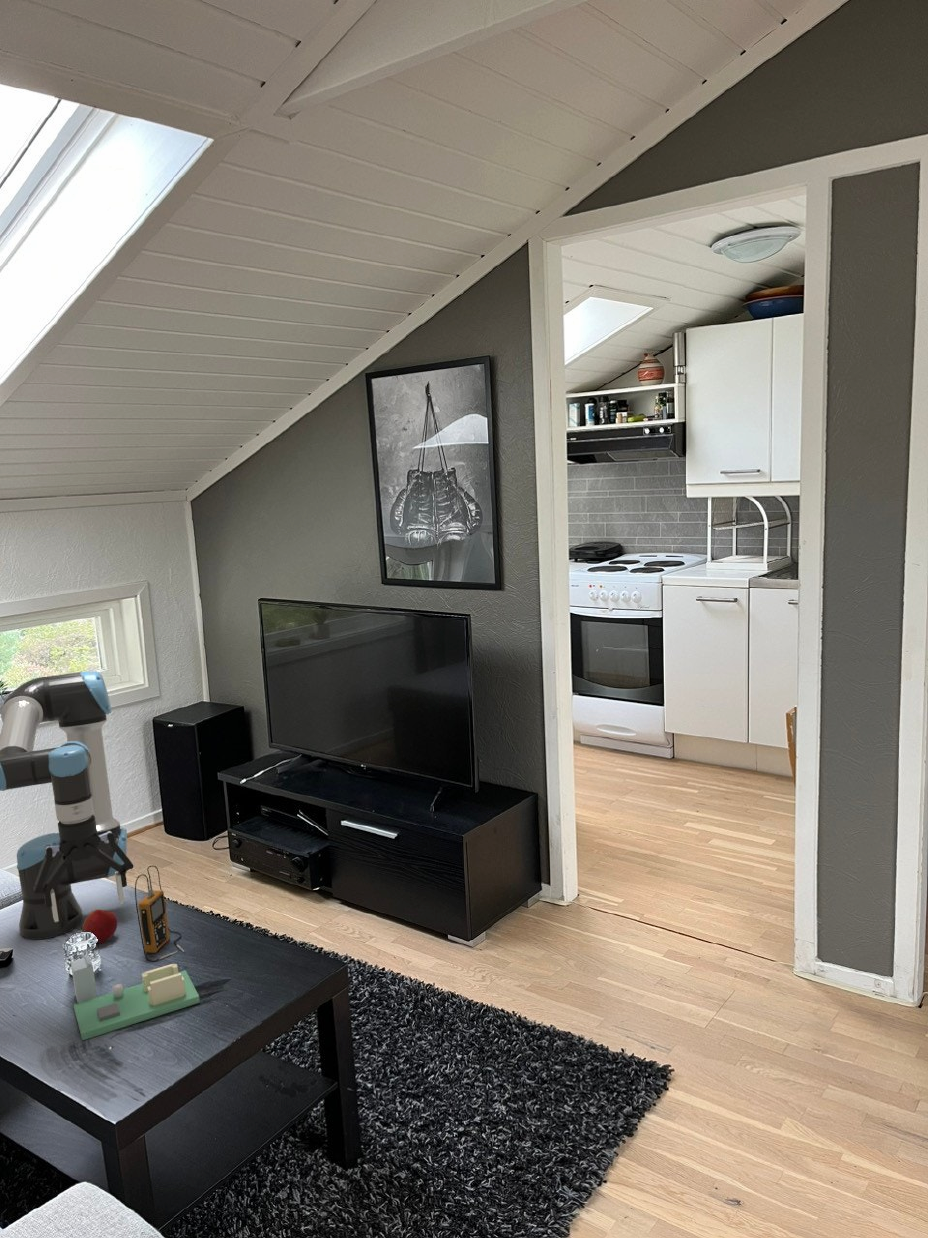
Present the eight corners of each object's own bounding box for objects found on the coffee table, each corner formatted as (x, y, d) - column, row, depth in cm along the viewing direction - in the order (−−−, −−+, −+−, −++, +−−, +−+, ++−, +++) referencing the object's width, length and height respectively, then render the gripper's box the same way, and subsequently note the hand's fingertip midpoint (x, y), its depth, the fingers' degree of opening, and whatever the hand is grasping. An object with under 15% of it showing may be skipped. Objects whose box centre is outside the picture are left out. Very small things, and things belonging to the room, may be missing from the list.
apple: (115, 945, 235) (111, 915, 234) (81, 950, 234) (77, 920, 233) (122, 931, 243) (117, 901, 241) (88, 935, 242) (84, 906, 240)
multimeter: (175, 963, 225) (164, 883, 221) (136, 962, 227) (125, 882, 223) (203, 933, 239) (194, 857, 236) (167, 931, 241) (157, 856, 238)
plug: (75, 995, 214) (70, 959, 212) (94, 989, 216) (89, 954, 214) (78, 1005, 209) (73, 969, 208) (97, 999, 211) (92, 963, 210)
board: (74, 1011, 207) (70, 983, 206) (186, 976, 218) (183, 950, 217) (82, 1040, 196) (78, 1011, 195) (199, 1002, 207) (196, 974, 206)
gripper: (14, 838, 196) (29, 934, 200) (139, 809, 209) (151, 900, 212) (11, 827, 203) (25, 920, 206) (132, 799, 215) (143, 888, 219)
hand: (89, 910), depth 209 cm, fingers open, 13 cm apart
